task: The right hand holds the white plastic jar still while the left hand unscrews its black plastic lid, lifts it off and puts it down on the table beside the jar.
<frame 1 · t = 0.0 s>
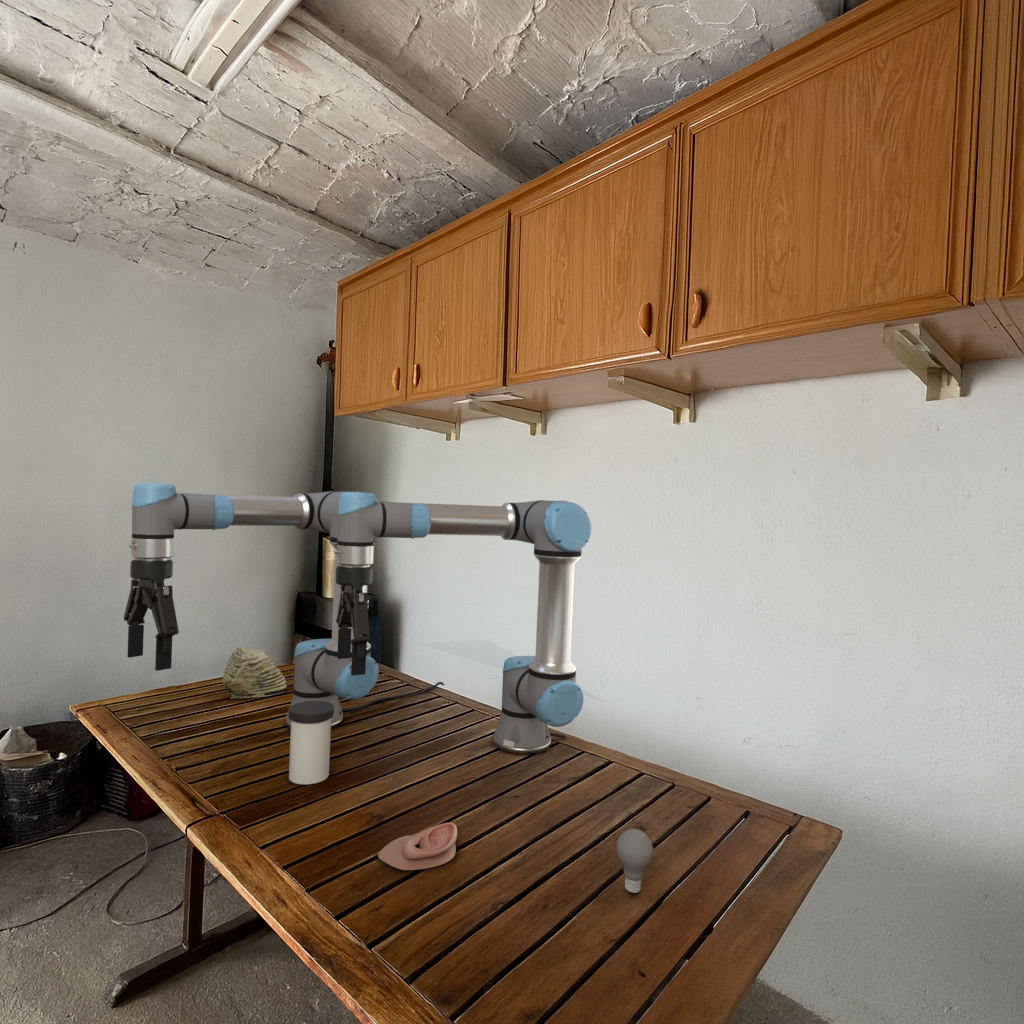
left hand: (148, 662, 129), 28 cm above the table, tool pointing down, fingers open, 13 cm apart
right hand: (350, 666, 133), 28 cm above the table, tool pointing down, fingers open, 13 cm apart
jar: (309, 776, 143), on the table
light bulb: (632, 891, 106), on the table
anatomical model: (418, 854, 114), on the table
lid: (311, 709, 143), point 15 cm above the table, screwed on, not yet turned
fossil: (254, 694, 198), on the table
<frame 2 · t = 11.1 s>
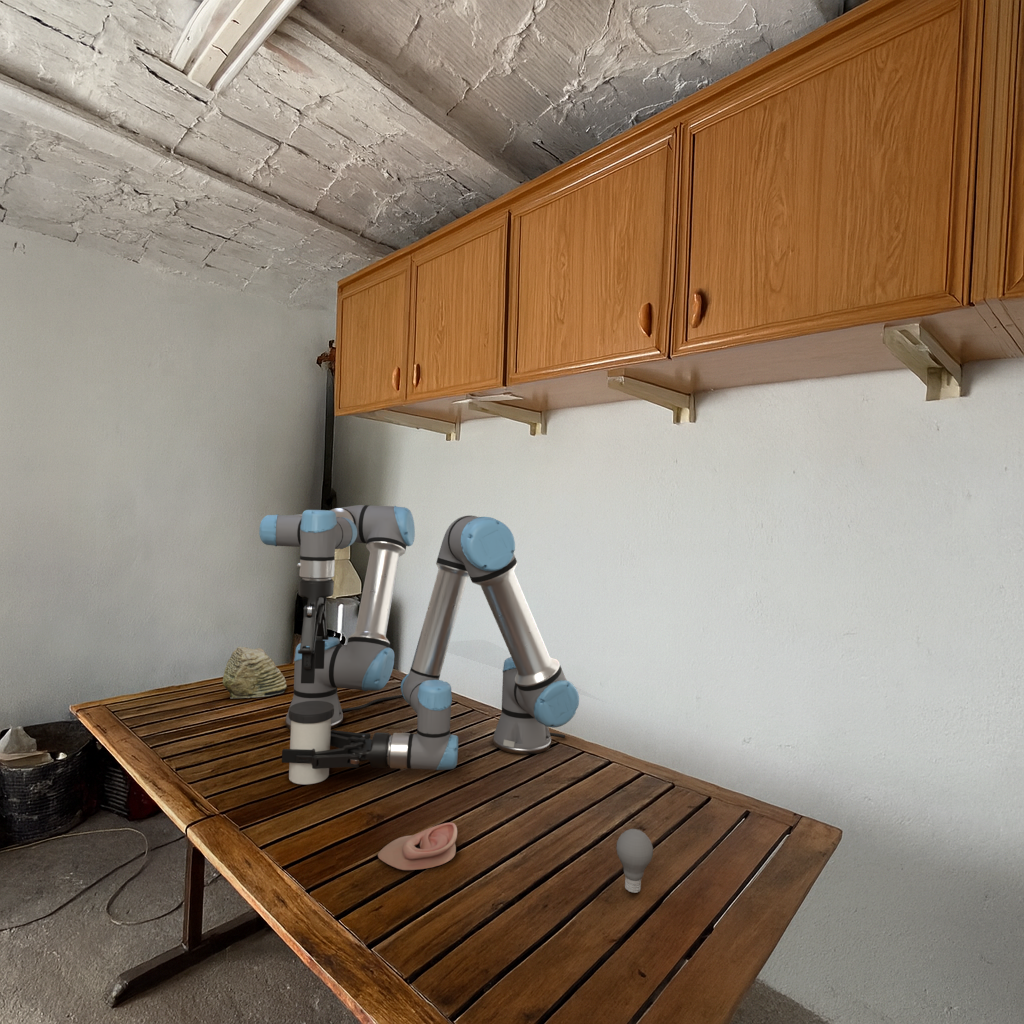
left hand: (312, 675, 143), 23 cm above the table, tool pointing down, fingers open, 11 cm apart
right hand: (289, 747, 143), 6 cm above the table, tool horizontal, fingers closed on jar, 9 cm apart
jar: (309, 776, 143), on the table, touching right hand
everything else where it was.
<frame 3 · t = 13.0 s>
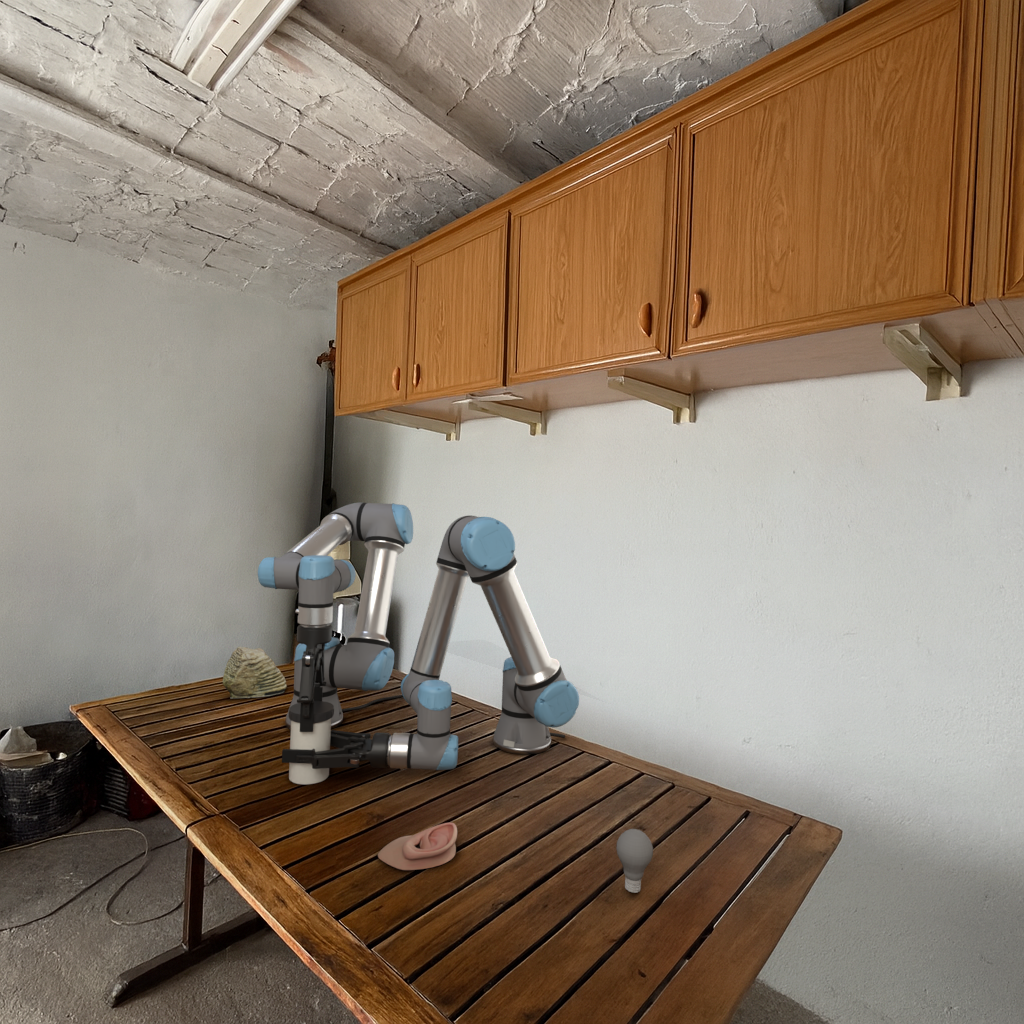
left hand: (311, 722, 143), 12 cm above the table, tool pointing down, fingers closed on lid, 10 cm apart
right hand: (289, 747, 143), 6 cm above the table, tool horizontal, fingers closed on jar, 9 cm apart
jar: (309, 776, 143), on the table, touching right hand
lid: (311, 709, 143), point 15 cm above the table, screwed on, not yet turned, touching left hand
everything else where it was.
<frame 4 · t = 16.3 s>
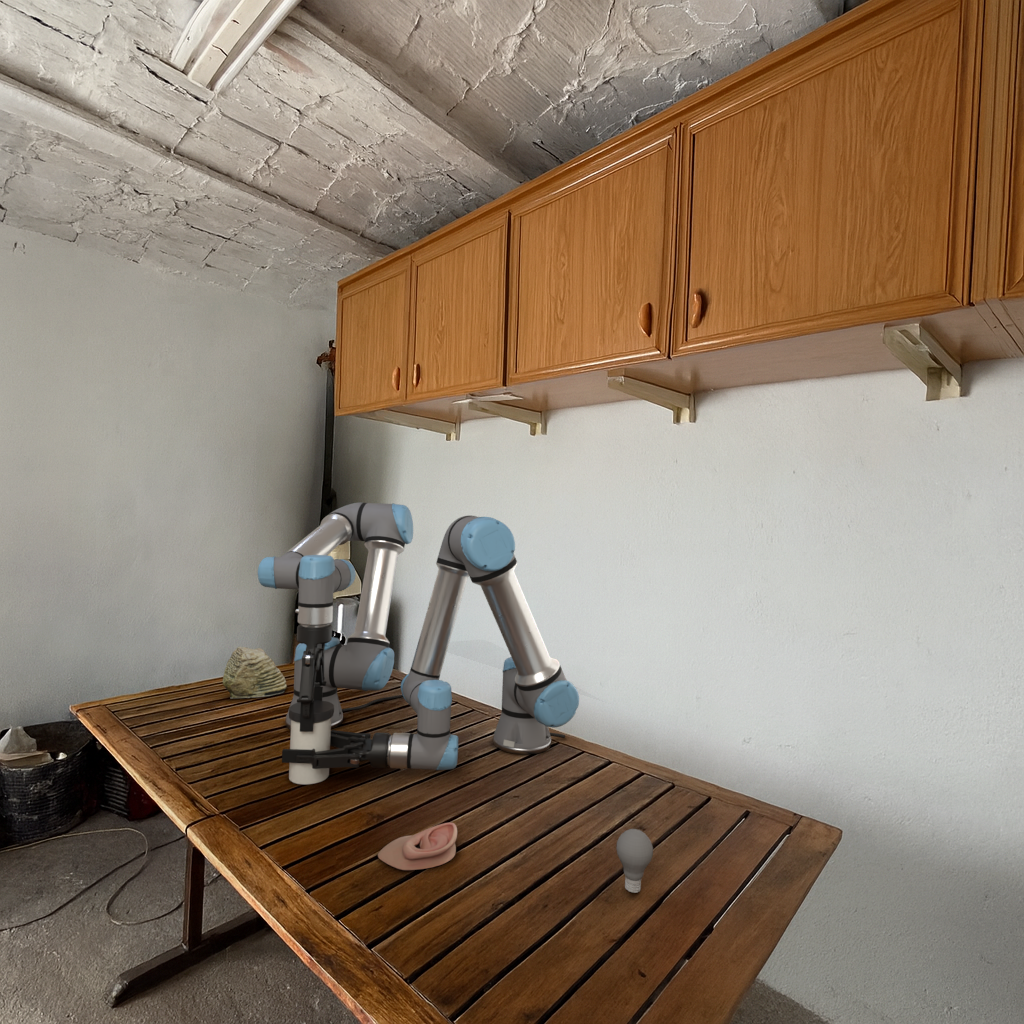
left hand: (311, 722, 143), 12 cm above the table, tool pointing down, fingers closed on lid, 10 cm apart
right hand: (289, 747, 143), 6 cm above the table, tool horizontal, fingers closed on jar, 9 cm apart
jar: (309, 776, 143), on the table, touching right hand
lid: (311, 708, 143), point 15 cm above the table, turned 94° so far, risen 0.1 cm, still on its thread, touching left hand
everything else where it was.
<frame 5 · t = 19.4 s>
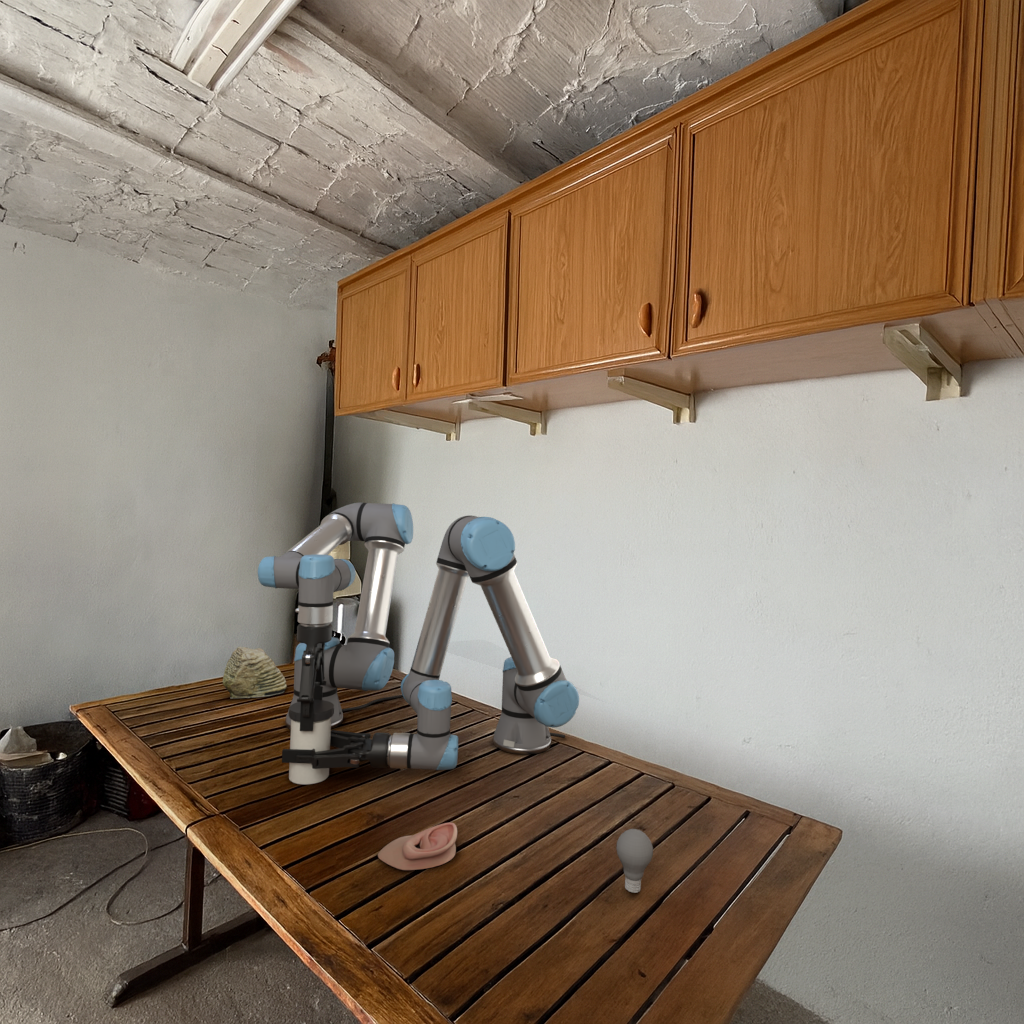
left hand: (311, 722, 143), 12 cm above the table, tool pointing down, fingers closed on lid, 10 cm apart
right hand: (289, 747, 143), 6 cm above the table, tool horizontal, fingers closed on jar, 9 cm apart
jar: (309, 776, 143), on the table, touching right hand
lid: (311, 707, 143), point 16 cm above the table, turned 188° so far, risen 0.2 cm, still on its thread, touching left hand
everything else where it was.
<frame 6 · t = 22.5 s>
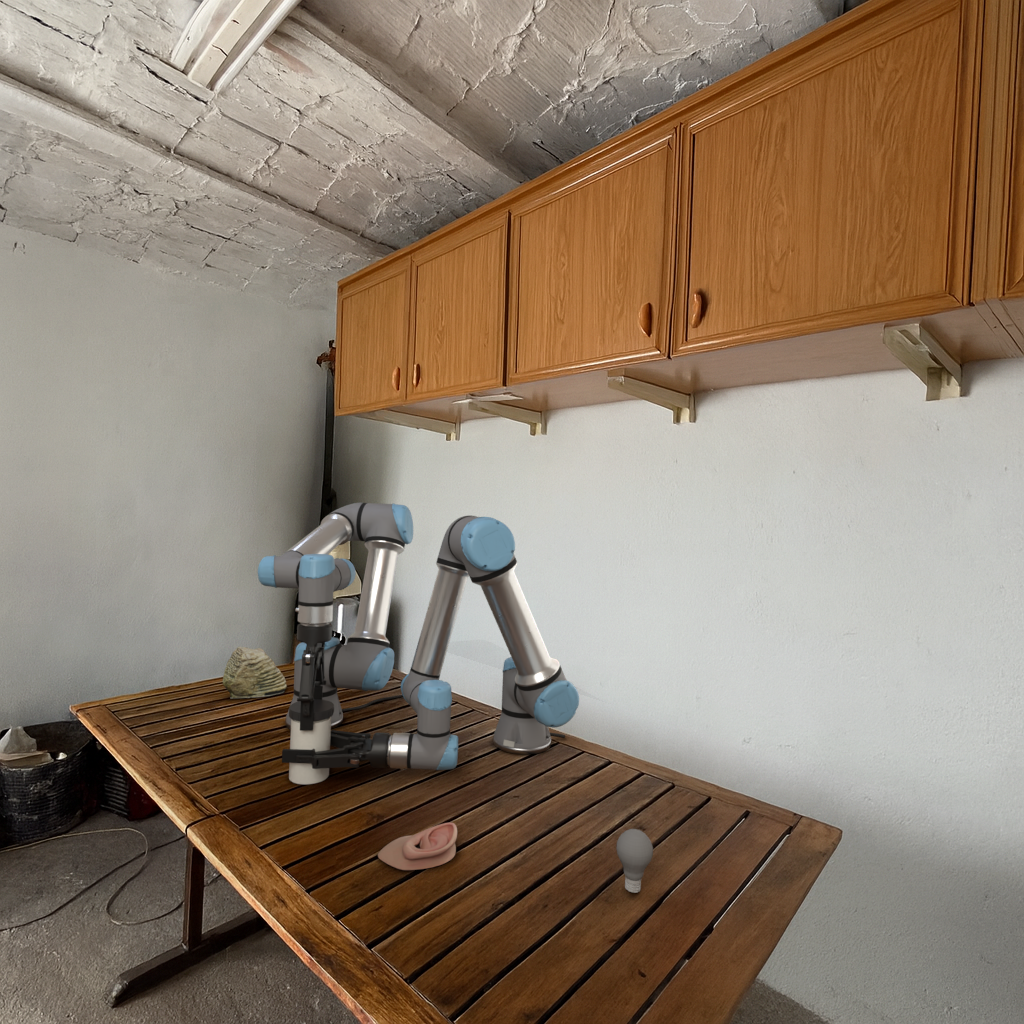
left hand: (311, 721, 143), 12 cm above the table, tool pointing down, fingers closed on lid, 10 cm apart
right hand: (289, 747, 143), 6 cm above the table, tool horizontal, fingers closed on jar, 9 cm apart
jar: (309, 776, 143), on the table, touching right hand
lid: (311, 707, 143), point 16 cm above the table, turned 283° so far, risen 0.3 cm, still on its thread, touching left hand
everything else where it was.
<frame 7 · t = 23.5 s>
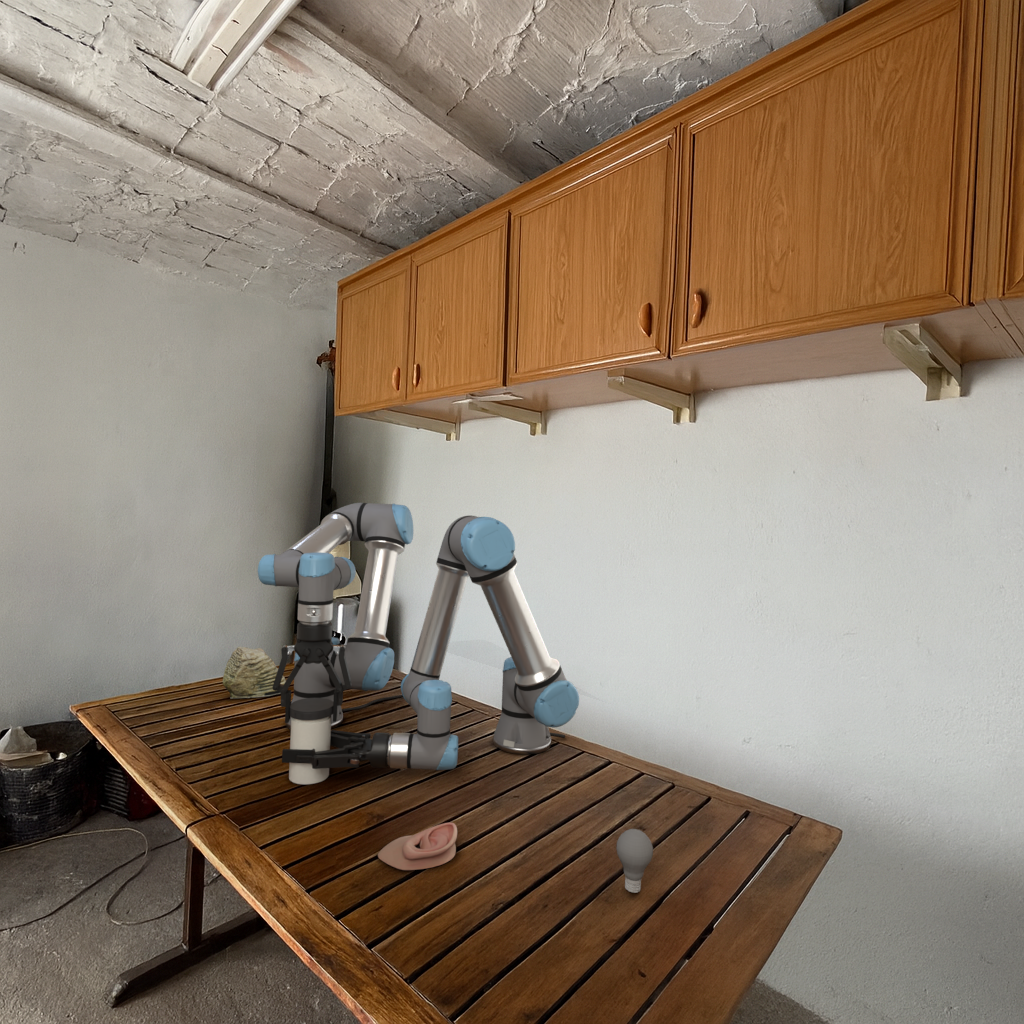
left hand: (311, 720, 143), 13 cm above the table, tool pointing down, fingers closed on lid, 10 cm apart
right hand: (289, 747, 143), 6 cm above the table, tool horizontal, fingers closed on jar, 9 cm apart
jar: (309, 775, 143), on the table, touching right hand
lid: (311, 706, 143), point 16 cm above the table, off its thread, touching left hand
everything else where it was.
when the left hand's fingers open (0 cm above the table, at t = 29.4 s): lid drops 2 cm, point 2 cm above the table.
when the right hand's fingers open (6 cm above the table, at t = 30.4 s): jar stays where it is, on the table.
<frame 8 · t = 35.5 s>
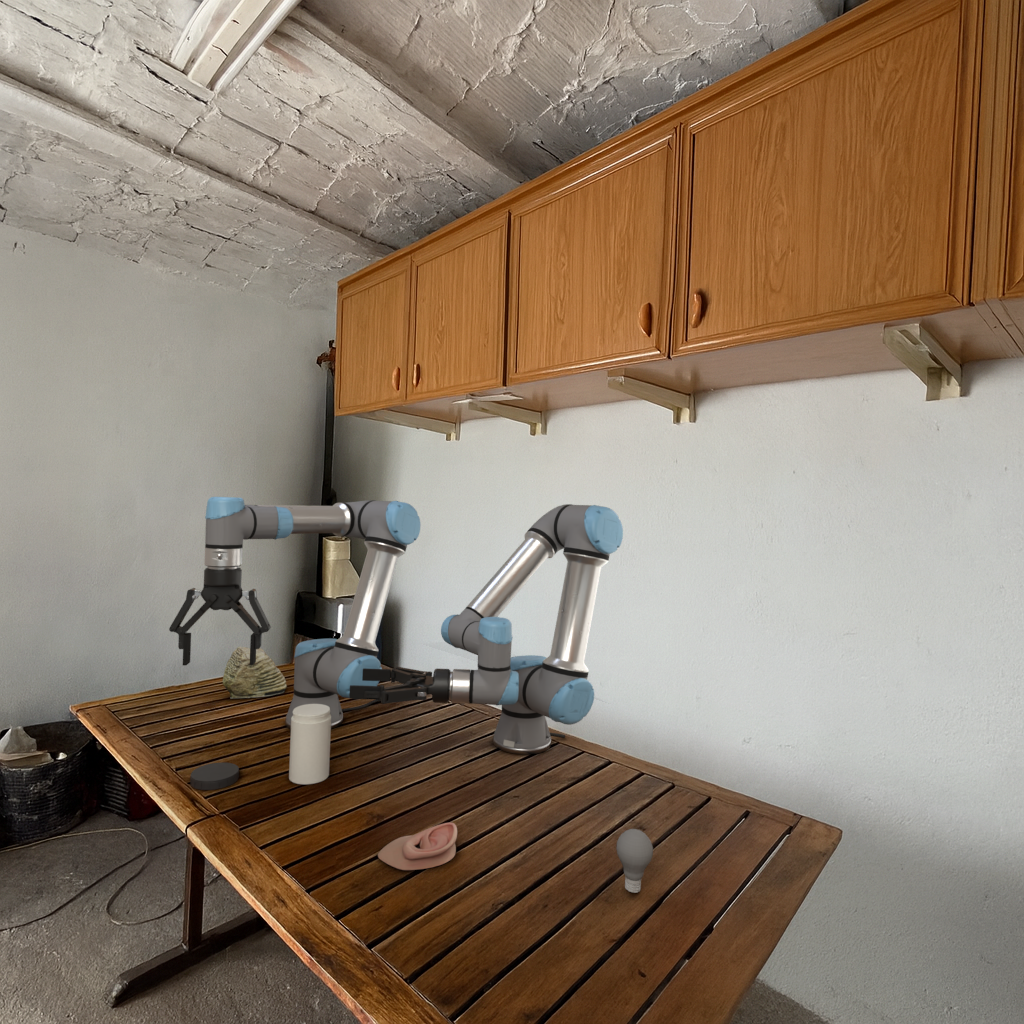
left hand: (219, 663, 139), 26 cm above the table, tool pointing down, fingers open, 13 cm apart
right hand: (356, 682, 143), 22 cm above the table, tool horizontal, fingers open, 13 cm apart
jar: (309, 775, 143), on the table
lid: (215, 773, 139), point 2 cm above the table, off its thread
everything else where it was.
at the end: lid came off its thread; lid point 1.6 cm above the table; the left hand is holding nothing; the right hand is holding nothing; jar tilted 0°; jar moved 0.0 cm from its start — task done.
